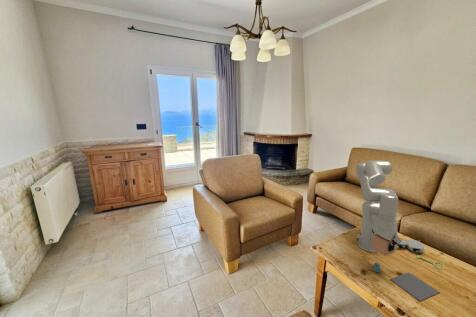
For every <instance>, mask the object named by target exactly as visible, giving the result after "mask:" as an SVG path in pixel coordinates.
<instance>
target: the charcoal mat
mask: <svg viewBox="0 0 476 317" xmlns="http://www.w3.org/2000/svg"><path fill="white" fill-rule="evenodd" d="M389 281H391V282H392V283H394V284H395V285H396V286H397V287H399V288H400V289H401V290H403V291H405V292H406V293H407V294H409V295H410V296H412V298H414V299H416V300H417V301H419V302H420V303H421V302H423V301H424V300H428V299H429V298H432V297H434V296H437V295H439V294H440V293H441V292H440V291H439V290H437V289H435V288H434V287H432V286H431V285H430V284H428V283H426V282H425V281H422V280H421V279H420V278H418V277H417V276H416V275H414V274H412V273H410V272H409V271H407V272H406V273H405V272H404V273H402V274H399V275H397V276H394V277H392V278H390V279H389Z"/></svg>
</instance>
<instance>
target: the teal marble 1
mask: <svg viewBox="0 0 476 317" xmlns="http://www.w3.org/2000/svg"><path fill="white" fill-rule="evenodd" d="M376 266H377V267H379V268H380V269H381V264H380V263H379V262H374V263H373V267H376Z"/></svg>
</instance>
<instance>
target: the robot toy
mask: <svg viewBox="0 0 476 317" xmlns="http://www.w3.org/2000/svg"><path fill="white" fill-rule="evenodd" d="M396 241H397V240H396ZM401 241H402V242H401V243H399V244H396V247H395V249H406V248H407V249H408V250H410V251H411V252H412V253H413V252H414V253H416V254H417V253H420V254H421V253H424V252H426V250H424V249H425V248H424V247H425V246H424V245H423V243H421V241H419V240H413V239H408V240H403V239H401Z"/></svg>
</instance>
